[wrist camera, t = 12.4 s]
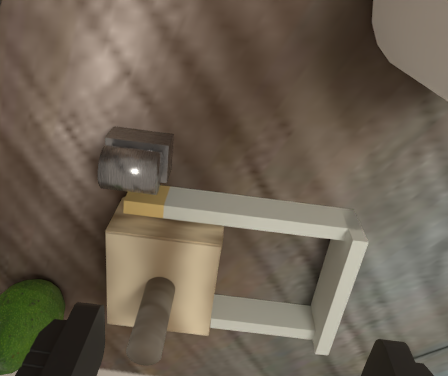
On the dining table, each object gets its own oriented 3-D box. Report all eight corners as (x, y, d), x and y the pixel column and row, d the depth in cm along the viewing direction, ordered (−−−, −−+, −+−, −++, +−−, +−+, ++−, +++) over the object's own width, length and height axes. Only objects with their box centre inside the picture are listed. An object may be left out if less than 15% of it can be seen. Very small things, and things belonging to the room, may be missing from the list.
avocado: (74, 268, 50) (30, 349, 40) (77, 315, 54) (36, 400, 44) (9, 259, 50) (-54, 338, 40) (16, 307, 54) (-40, 390, 43)
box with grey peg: (123, 280, 51) (81, 391, 38) (123, 195, 45) (73, 291, 32) (213, 291, 51) (202, 405, 38) (225, 208, 45) (217, 308, 32)
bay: (131, 293, 52) (118, 330, 46) (133, 181, 44) (118, 211, 39) (319, 315, 52) (328, 355, 47) (353, 209, 45) (368, 242, 39)
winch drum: (114, 162, 43) (92, 195, 37) (113, 126, 41) (91, 155, 35) (171, 169, 43) (159, 203, 37) (173, 134, 41) (161, 164, 35)
